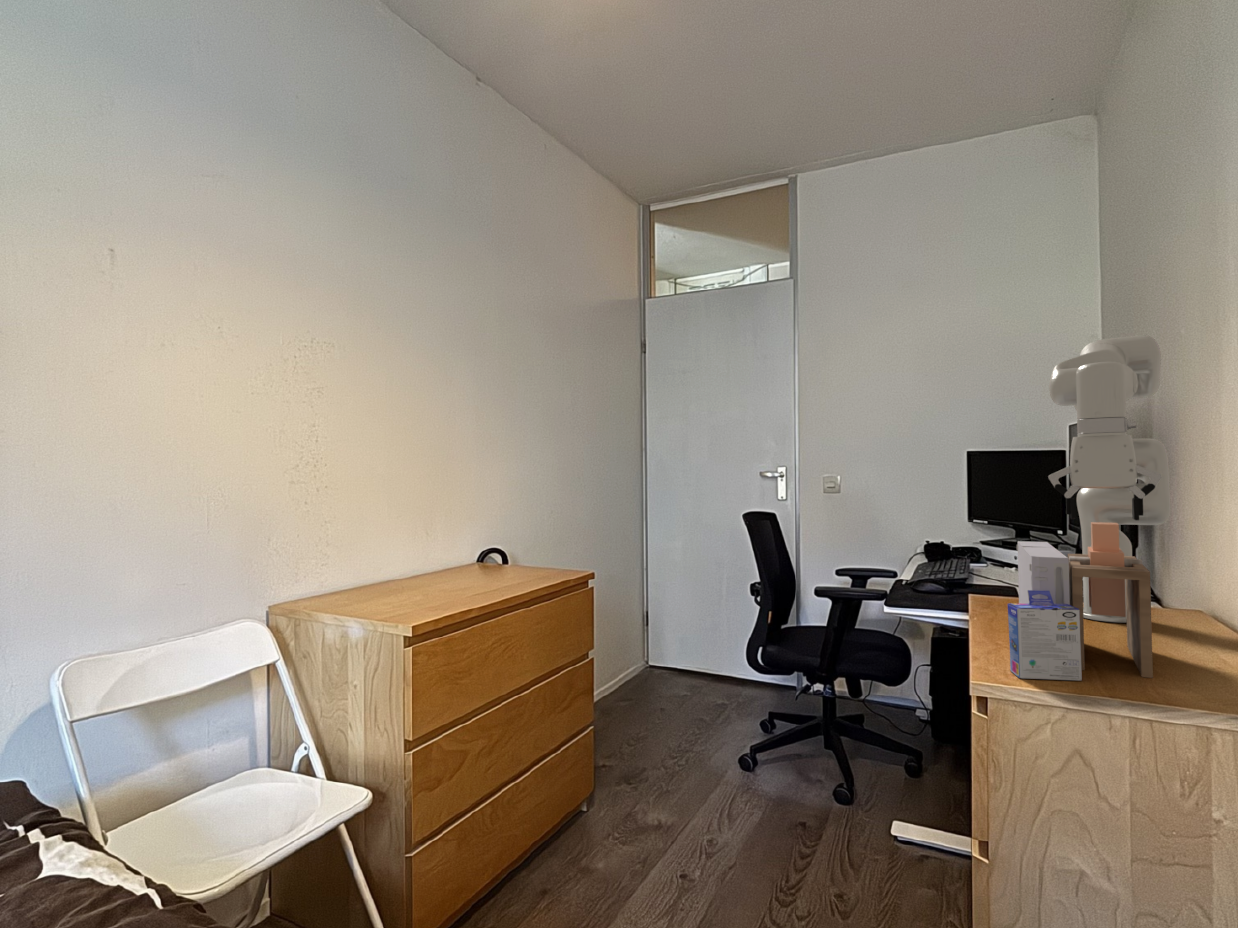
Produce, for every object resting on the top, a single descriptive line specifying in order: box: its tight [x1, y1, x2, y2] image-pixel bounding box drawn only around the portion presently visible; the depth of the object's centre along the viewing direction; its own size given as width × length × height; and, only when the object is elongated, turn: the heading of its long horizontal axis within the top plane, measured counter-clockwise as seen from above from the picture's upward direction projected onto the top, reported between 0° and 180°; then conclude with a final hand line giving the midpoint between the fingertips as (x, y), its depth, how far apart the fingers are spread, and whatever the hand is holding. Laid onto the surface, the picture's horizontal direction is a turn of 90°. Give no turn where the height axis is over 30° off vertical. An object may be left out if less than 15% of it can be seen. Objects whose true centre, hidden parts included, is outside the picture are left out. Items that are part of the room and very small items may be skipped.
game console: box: [1016, 540, 1070, 605], centre depth 132 cm, size 6×27×20 cm, turn 154°
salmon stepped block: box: [1088, 522, 1126, 617], centre depth 126 cm, size 8×5×16 cm, turn 148°
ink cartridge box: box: [1007, 590, 1083, 682], centre depth 116 cm, size 10×6×14 cm, turn 78°
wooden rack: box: [1067, 553, 1154, 679], centre depth 125 cm, size 22×11×19 cm, turn 148°
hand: (1103, 519), depth 126 cm, fingers open, 9 cm apart
